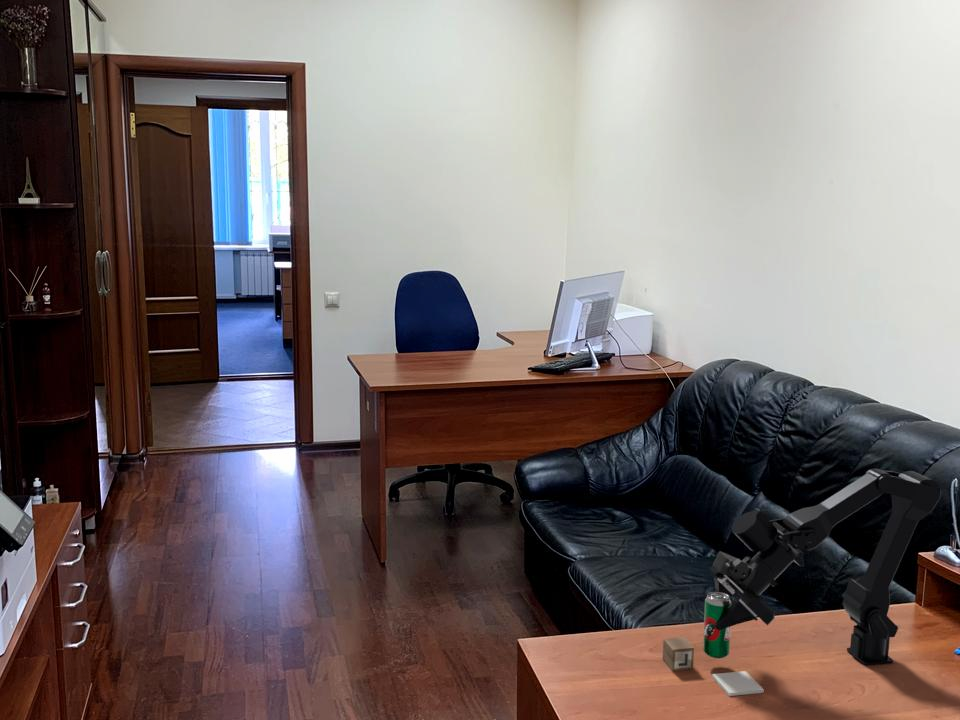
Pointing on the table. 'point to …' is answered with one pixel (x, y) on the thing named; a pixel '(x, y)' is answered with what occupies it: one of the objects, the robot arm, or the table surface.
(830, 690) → the table surface
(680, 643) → the letter cube
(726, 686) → the coaster
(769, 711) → the table surface
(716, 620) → the soda can
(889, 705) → the table surface
